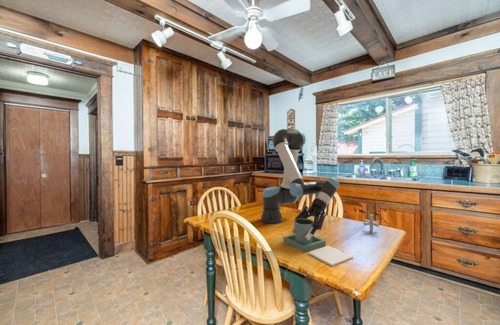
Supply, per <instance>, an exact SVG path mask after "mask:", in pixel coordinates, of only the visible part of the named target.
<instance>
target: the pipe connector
mask: <svg viewBox="0 0 500 325" xmlns="http://www.w3.org/2000/svg"><path fill="white" fill-rule="evenodd" d="M362 224H363V226H369V232H370V231H373V232H374V227H376V228H379V227H380V221H379V220H374V214H369V219H366V218H364V219H363V223H362Z"/></svg>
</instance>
